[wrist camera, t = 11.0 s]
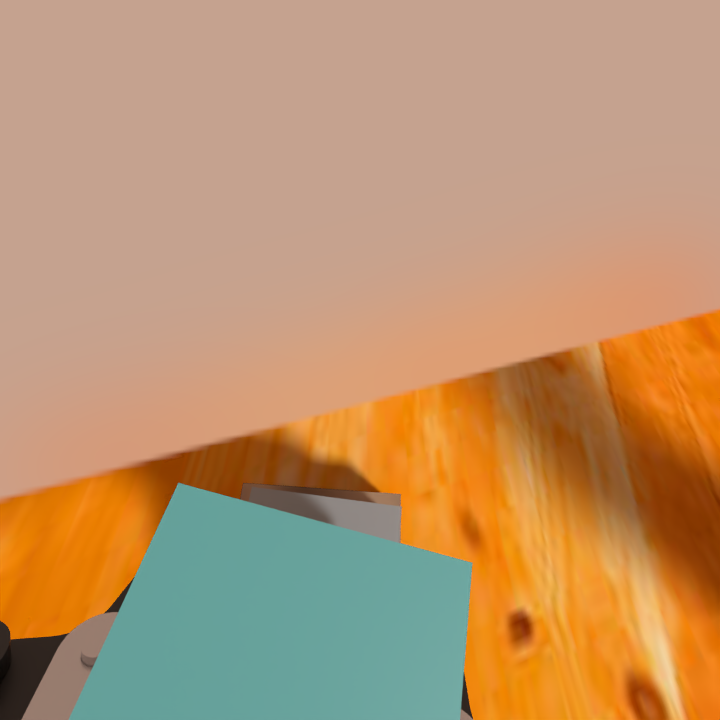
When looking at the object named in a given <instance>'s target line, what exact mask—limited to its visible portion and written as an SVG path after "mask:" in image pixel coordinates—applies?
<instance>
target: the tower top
mask: <svg viewBox="0 0 720 720" xmlns="http://www.w3.org/2000/svg"><path fill="white" fill-rule="evenodd" d="M248 502H251V503H254V504H258V505H262V506H265V507H269V508H273V509H276V510H280V511H284V512H287V513H291V514H295V515H298V516H302V517H306V518H309V519H313V520H317V521H320V522H324V523H328V524H331V525H335V526H339V527H342V528H346V529H350V530H353V531H357V532H361V533H364V534H368V535H372V536H375V537H379V538H383V539H386V540H390V541H394V542H397V543H400V525H401V506H393V505H386V504H378V503H371V502H363V501H356V500H348V499H341V498H333V497H326V496H318V495H311V494H303V493H296V492H288V491H280V490H273V489H265V488H258V487H252V489H251V493H250V497H249V501H248Z"/></svg>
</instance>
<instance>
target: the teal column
mask: <svg viewBox="0 0 720 720" xmlns="http://www.w3.org/2000/svg"><path fill="white" fill-rule="evenodd" d="M471 572H472V563H471V562H467V561H464V560H460V559H456V558H453V557H449V556H445V555H442V554H438V553H434V552H431V551H427V550H423V549H419V548H416V547H412V546H408V545H405V544H401V543H397V542H394V541H390V540H386V539H383V538H379V537H375V536H372V535H368V534H364V533H361V532H357V531H353V530H350V529H346V528H342V527H339V526H335V525H331V524H328V523H324V522H320V521H317V520H313V519H309V518H306V517H302V516H298V515H295V514H291V513H287V512H284V511H280V510H276V509H273V508H269V507H265V506H262V505H258V504H254V503H251V502H247V501H243V500H240V499H236V498H232V497H229V496H225V495H221V494H218V493H214V492H210V491H207V490H203V489H199V488H195V487H192V486H188V485H184V484H181V483H178V485H177V487H176V489H175V491H174V494H173V496H172V498H171V500H170V502H169V504H168V506H167V509H166V511H165V513H164V515H163V517H162V519H161V522H160V524H159V526H158V528H157V530H156V532H155V534H154V537H153V539H152V541H151V543H150V545H149V547H148V550H147V552H146V554H145V556H144V558H143V560H142V563H141V565H140V567H139V569H138V571H137V573H136V575H135V578H134V580H133V582H132V584H131V586H130V588H129V591H128V593H127V595H126V597H125V599H124V601H123V603H122V606H121V608H120V610H119V612H118V614H117V616H116V619H115V621H114V623H113V625H112V627H111V629H110V631H109V634H108V636H107V638H106V640H105V642H104V644H103V647H102V649H101V651H100V653H99V655H98V657H97V659H96V662H95V664H94V666H93V668H92V670H91V672H90V675H89V677H88V679H87V681H86V683H85V685H84V687H83V690H82V692H81V694H80V696H79V698H78V700H77V703H76V705H75V707H74V709H73V711H72V713H71V715H70V718H69V720H460V714H461V701H462V688H463V675H464V662H465V649H466V636H467V624H468V611H469V598H470V585H471Z"/></svg>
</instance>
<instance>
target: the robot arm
mask: <svg viewBox="0 0 720 720" xmlns="http://www.w3.org/2000/svg"><path fill="white" fill-rule="evenodd" d="M134 578H135V577H134ZM134 578H133V580H134ZM133 580H132V581H131V582H130V583H129V584H128V586H127V587H126V588H125V589H124V591H123V592H122V593H121V594H120V596H119V597H118V598H117V599H116V601H115V602H114V603H113V604H112V606H111V607H110V608H109V609H108V610H107V611H106V612H105V613H104V614H100V615H98V616H95V617H92V618H90V619H88V620H86V621H85V622H83V623H82V624H80V625H79V626H77V627H76V628H75V629H74V630H72V631H71V632H70V633H68V634H64V635H59V636H52V637H39V638H25V639H12V640H10V631H9V629H8V627H7V626H6V625H5V624H4V623H3V622H1V621H0V720H69V718H70V715H71V713H72V711H73V709H74V707H75V705H76V703H77V700H78V698H79V696H80V694H81V692H82V690H83V687H84V685H85V683H86V681H87V679H88V677H89V675H90V672H91V670H92V668H93V666H94V664H95V662H96V659H97V657H98V655H99V653H100V651H101V649H102V647H103V644H104V642H105V640H106V638H107V636H108V634H109V631H110V629H111V627H112V625H113V623H114V621H115V619H116V616H117V614H118V612H119V610H120V608H121V606H122V603H123V601H124V599H125V597H126V595H127V593H128V591H129V588H130V586H131V584H132V582H133ZM460 720H473V717H472V714H471V710H470V705H469V699H468V693H467V687H466V681H465V675H463V688H462V701H461V714H460Z"/></svg>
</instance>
